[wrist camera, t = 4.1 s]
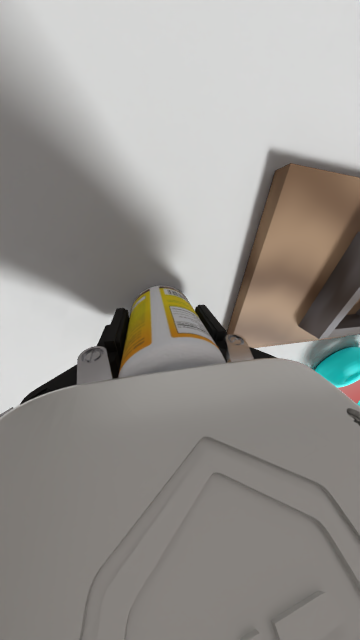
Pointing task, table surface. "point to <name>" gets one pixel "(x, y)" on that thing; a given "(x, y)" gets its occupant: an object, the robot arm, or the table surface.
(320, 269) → the board
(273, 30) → the table surface
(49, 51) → the table surface
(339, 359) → the donuts
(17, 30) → the table surface
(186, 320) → the supplement bottle
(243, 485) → the robot arm
